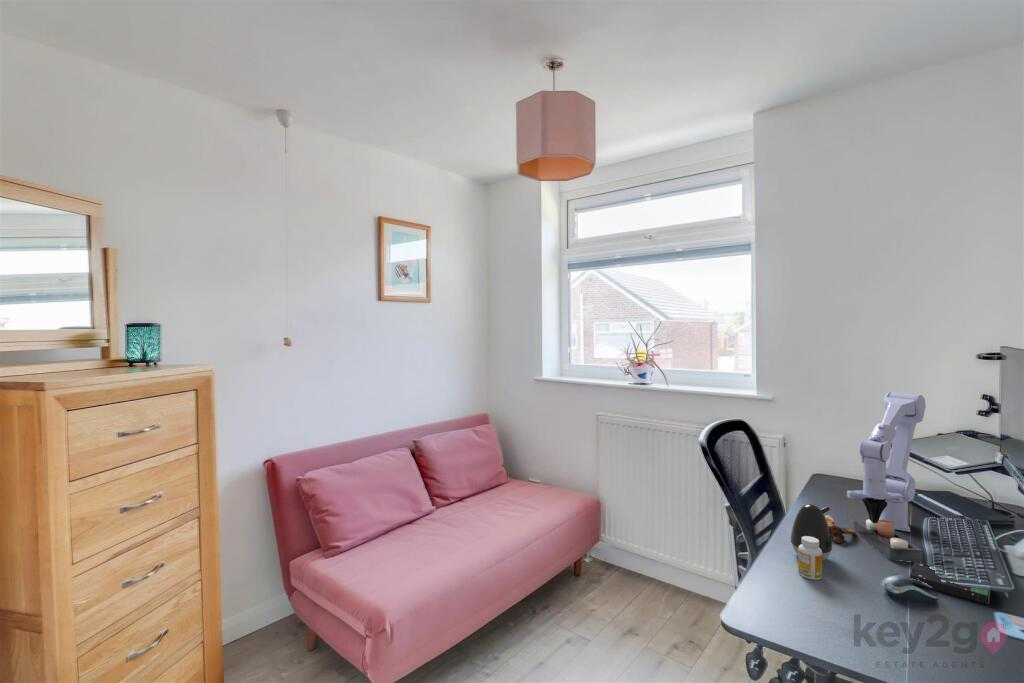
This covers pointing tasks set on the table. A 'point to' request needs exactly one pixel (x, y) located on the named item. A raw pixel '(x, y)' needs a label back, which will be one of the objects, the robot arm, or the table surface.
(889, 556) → the panel
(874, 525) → the knob
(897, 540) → the knob
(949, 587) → the disk drive
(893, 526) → the brown egg
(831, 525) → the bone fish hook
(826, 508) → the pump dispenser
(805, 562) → the supplement bottle
